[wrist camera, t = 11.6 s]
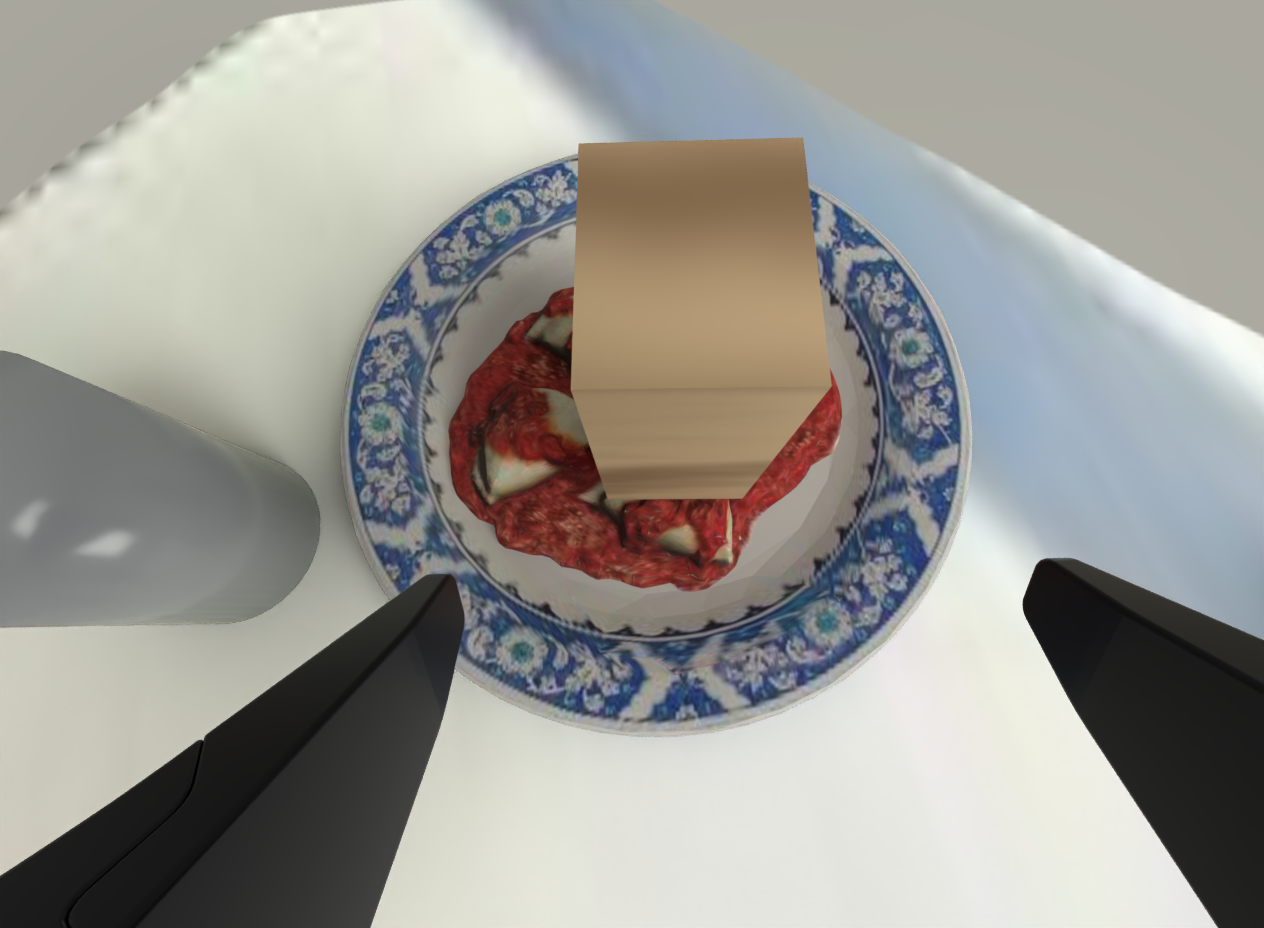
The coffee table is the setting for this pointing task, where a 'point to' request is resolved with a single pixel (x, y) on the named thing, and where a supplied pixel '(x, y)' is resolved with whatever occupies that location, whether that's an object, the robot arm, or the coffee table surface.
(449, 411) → the ceramic plate
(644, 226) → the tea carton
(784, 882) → the coffee table surface
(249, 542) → the grey tapered cylinder
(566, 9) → the coffee table surface
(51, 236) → the coffee table surface
